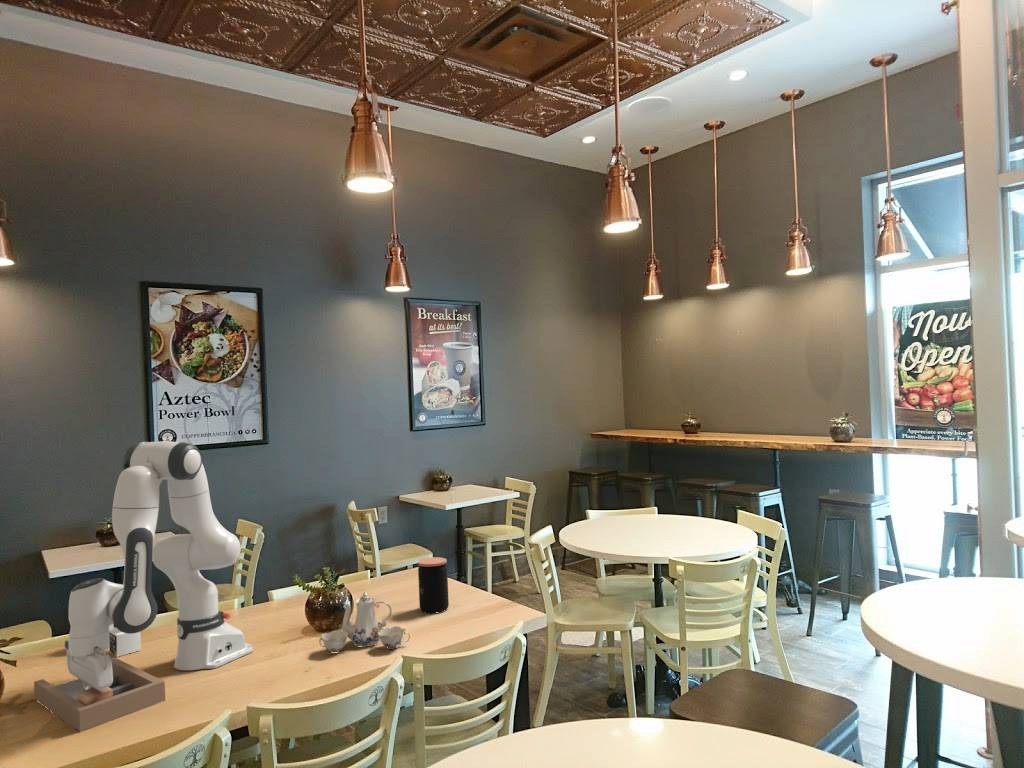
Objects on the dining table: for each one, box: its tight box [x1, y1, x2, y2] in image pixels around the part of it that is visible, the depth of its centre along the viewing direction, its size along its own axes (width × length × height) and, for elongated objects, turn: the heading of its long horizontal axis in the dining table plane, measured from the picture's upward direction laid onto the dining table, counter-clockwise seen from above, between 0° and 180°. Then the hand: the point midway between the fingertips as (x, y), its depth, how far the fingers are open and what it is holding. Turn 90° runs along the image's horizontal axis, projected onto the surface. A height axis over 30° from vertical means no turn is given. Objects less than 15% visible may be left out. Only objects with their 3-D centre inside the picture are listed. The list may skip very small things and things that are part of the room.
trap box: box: [33, 656, 166, 733], centre depth 178 cm, size 20×32×5 cm, turn 52°
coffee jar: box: [417, 556, 450, 614], centre depth 244 cm, size 11×11×18 cm
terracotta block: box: [77, 687, 113, 706], centre depth 168 cm, size 6×6×4 cm
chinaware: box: [319, 591, 411, 652], centre depth 210 cm, size 28×17×17 cm, turn 100°
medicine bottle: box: [108, 624, 142, 658], centre depth 214 cm, size 7×7×12 cm
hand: (90, 697), depth 171 cm, fingers closed
